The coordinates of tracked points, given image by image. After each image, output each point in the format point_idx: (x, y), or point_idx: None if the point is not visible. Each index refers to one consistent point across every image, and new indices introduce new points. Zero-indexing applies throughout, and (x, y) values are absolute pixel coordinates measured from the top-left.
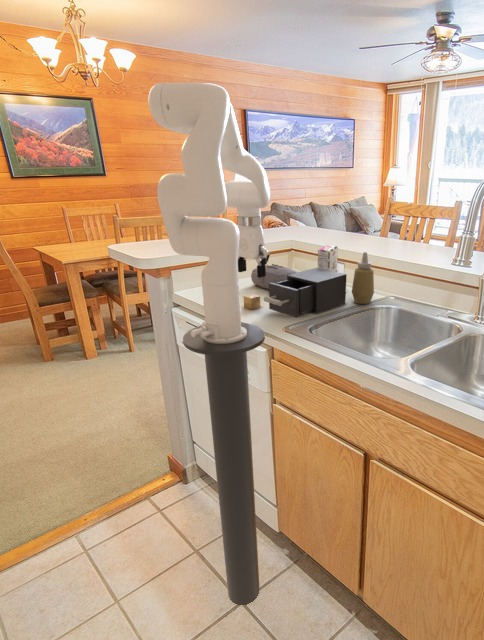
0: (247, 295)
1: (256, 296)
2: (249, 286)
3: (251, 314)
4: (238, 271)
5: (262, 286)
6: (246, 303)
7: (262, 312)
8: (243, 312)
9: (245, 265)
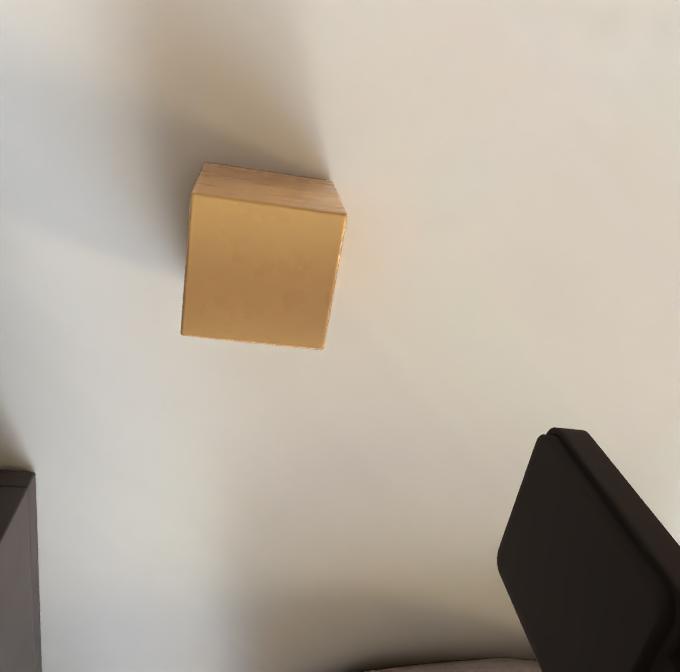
0: (321, 266)
1: (201, 301)
2: None
3: (82, 26)
4: (578, 431)
5: (536, 665)
6: (287, 185)
7: (44, 163)
8: (212, 30)
9: (536, 632)
